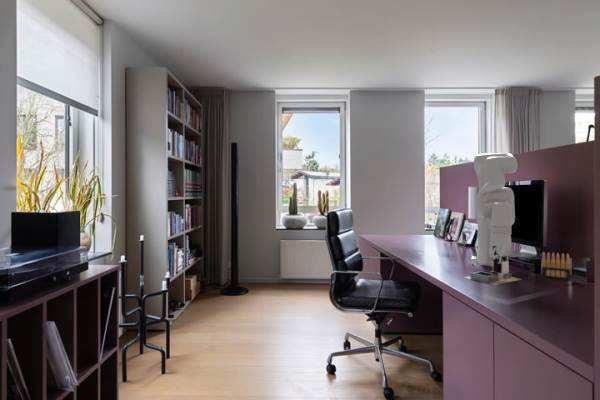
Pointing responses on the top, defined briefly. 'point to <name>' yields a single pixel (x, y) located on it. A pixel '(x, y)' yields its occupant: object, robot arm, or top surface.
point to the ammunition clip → (557, 271)
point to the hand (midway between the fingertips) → (500, 271)
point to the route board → (506, 278)
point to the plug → (504, 268)
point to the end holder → (484, 276)
